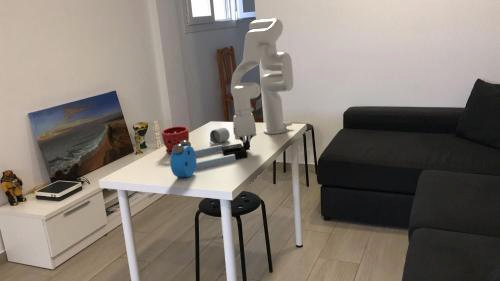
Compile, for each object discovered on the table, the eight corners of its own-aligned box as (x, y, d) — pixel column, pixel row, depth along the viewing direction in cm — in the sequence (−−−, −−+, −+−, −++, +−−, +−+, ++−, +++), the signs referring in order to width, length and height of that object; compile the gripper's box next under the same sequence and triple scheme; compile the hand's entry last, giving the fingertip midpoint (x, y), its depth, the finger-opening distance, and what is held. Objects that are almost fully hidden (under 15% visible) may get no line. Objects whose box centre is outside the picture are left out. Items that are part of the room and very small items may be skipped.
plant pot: (159, 154, 227) (156, 131, 224) (180, 147, 236) (176, 125, 233) (175, 158, 218) (172, 134, 215) (196, 150, 227) (193, 127, 224)
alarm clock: (185, 170, 199) (180, 138, 195) (198, 170, 197) (194, 137, 193) (172, 181, 187) (167, 147, 183) (186, 182, 185) (180, 147, 181)
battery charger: (222, 154, 218) (221, 146, 217) (241, 151, 220) (240, 143, 219) (227, 162, 206) (226, 153, 205) (247, 158, 208) (246, 150, 207)
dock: (222, 150, 223) (221, 144, 222) (235, 161, 205) (235, 154, 204) (185, 158, 217) (184, 152, 216) (196, 169, 199) (195, 163, 198)
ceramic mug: (231, 140, 238) (229, 126, 236) (220, 145, 232) (218, 130, 230) (217, 139, 245) (215, 125, 243) (206, 143, 239) (204, 129, 237)
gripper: (254, 108, 217) (258, 144, 222) (225, 113, 212) (229, 150, 217) (260, 110, 211) (264, 148, 216) (230, 116, 205) (235, 154, 210)
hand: (247, 149), depth 216 cm, fingers closed
